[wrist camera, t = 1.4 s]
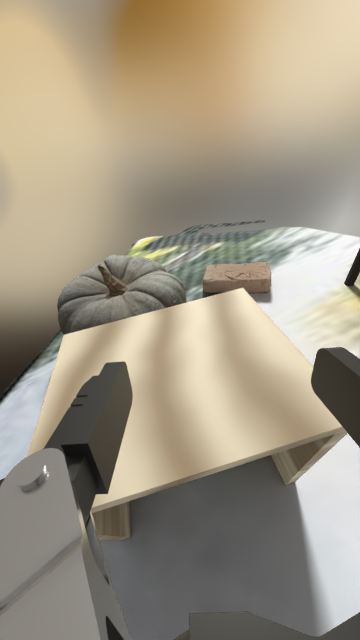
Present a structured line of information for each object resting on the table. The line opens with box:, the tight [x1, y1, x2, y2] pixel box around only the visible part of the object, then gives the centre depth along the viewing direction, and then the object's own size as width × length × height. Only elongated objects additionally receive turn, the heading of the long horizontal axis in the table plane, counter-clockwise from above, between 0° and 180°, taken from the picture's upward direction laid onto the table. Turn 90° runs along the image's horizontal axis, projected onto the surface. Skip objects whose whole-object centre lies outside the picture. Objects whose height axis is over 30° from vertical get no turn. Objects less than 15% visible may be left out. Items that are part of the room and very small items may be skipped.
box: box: [27, 288, 347, 541], centre depth 22 cm, size 20×15×17 cm
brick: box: [203, 262, 271, 293], centre depth 53 cm, size 16×8×5 cm, turn 76°
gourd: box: [57, 255, 187, 335], centre depth 41 cm, size 25×25×17 cm
